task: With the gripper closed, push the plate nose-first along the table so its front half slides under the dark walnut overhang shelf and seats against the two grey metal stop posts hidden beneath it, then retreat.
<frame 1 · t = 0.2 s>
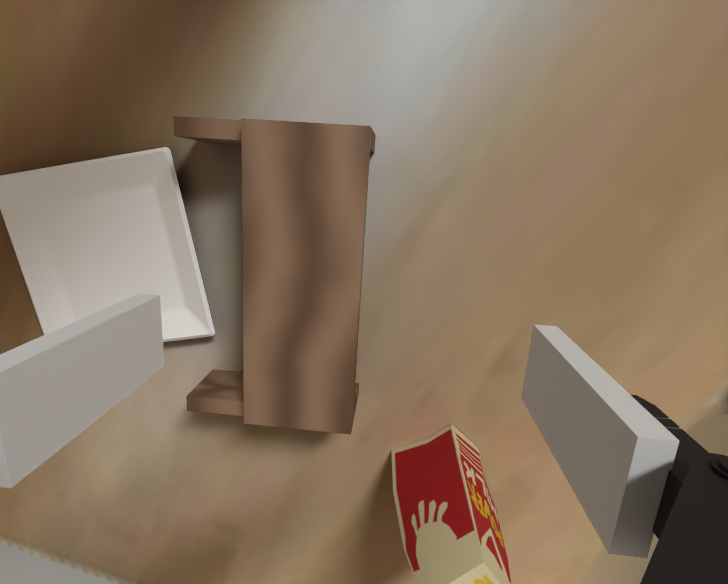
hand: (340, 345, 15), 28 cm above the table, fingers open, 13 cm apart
plate: (118, 255, 45), on the table
milk carton: (443, 466, 48), on the table
overhang shelf: (346, 274, 43), on the table
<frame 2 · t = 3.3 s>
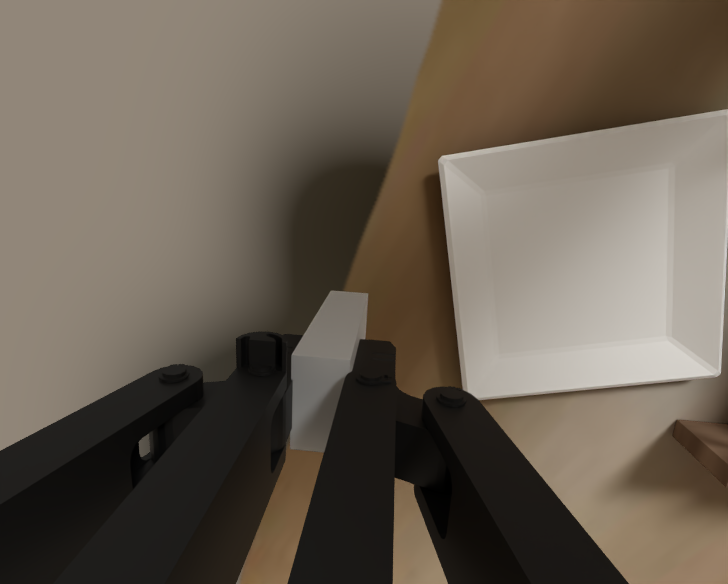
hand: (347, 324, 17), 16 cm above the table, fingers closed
plate: (573, 265, 33), on the table
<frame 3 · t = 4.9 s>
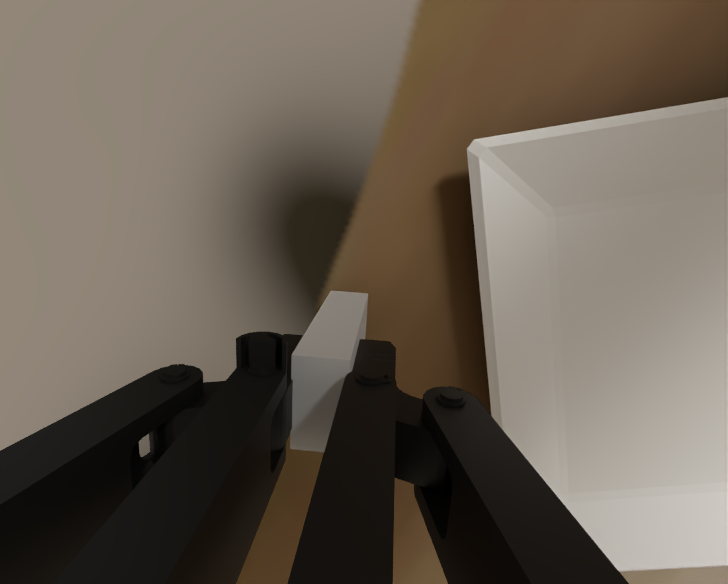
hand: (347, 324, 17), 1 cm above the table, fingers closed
plate: (708, 341, 18), on the table
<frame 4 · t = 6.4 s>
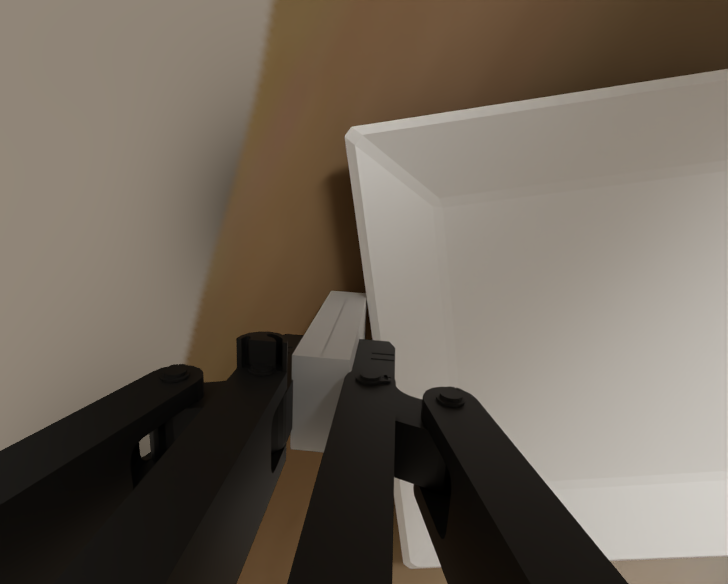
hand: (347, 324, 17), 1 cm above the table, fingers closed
plate: (603, 336, 18), on the table, touching gripper
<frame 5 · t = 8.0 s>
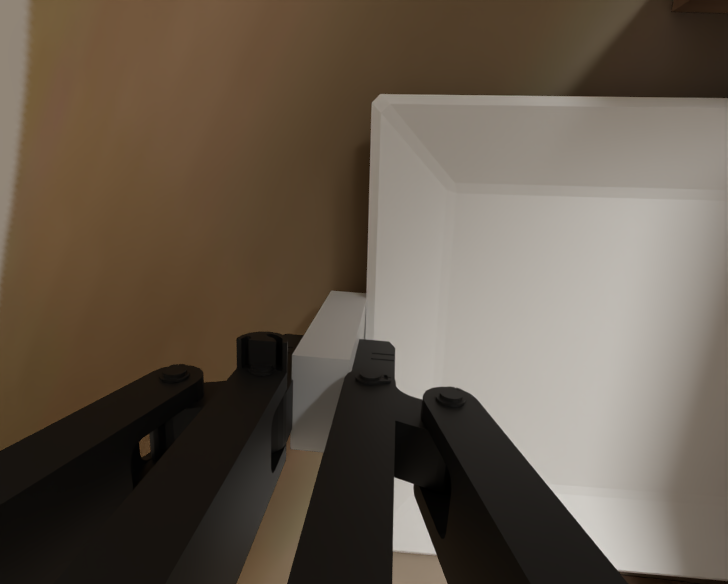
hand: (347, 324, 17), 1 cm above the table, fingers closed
plate: (590, 346, 18), on the table
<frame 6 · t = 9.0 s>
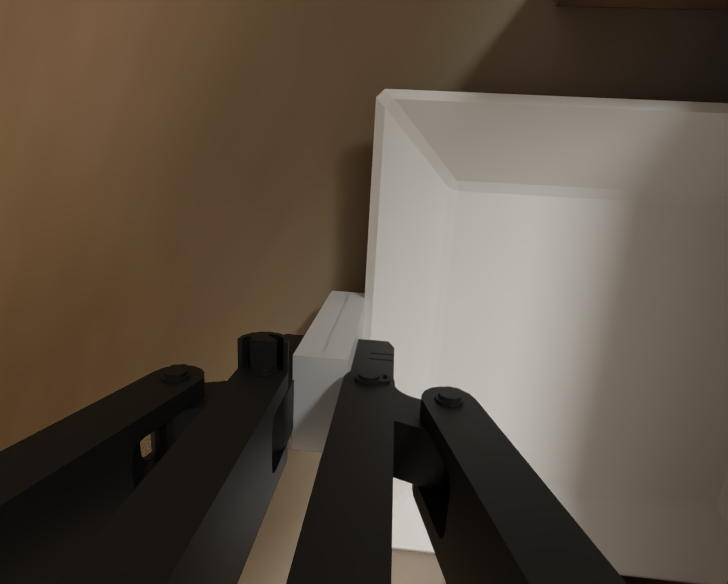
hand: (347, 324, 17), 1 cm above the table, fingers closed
plate: (587, 349, 18), on the table, touching gripper, overhang shelf
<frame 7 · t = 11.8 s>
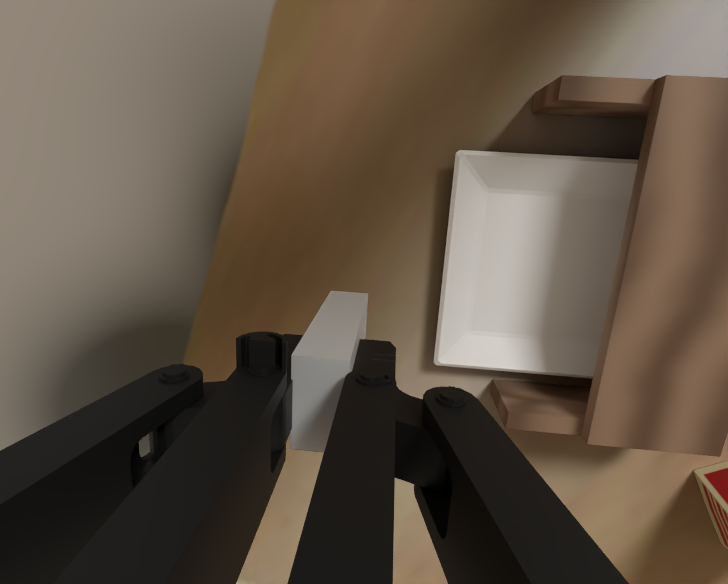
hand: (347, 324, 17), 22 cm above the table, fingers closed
plate: (547, 267, 38), on the table
overhang shelf: (676, 268, 37), on the table
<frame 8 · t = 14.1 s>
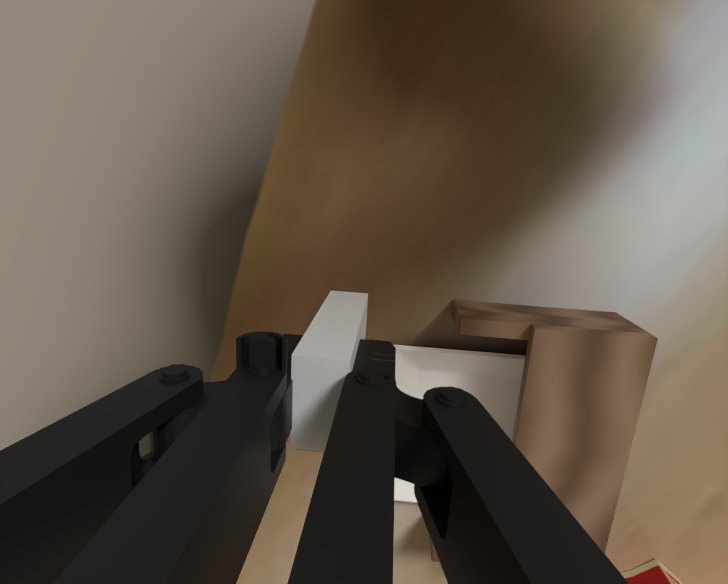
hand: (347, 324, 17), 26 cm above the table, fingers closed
plate: (469, 423, 48), on the table
overhang shelf: (570, 428, 46), on the table
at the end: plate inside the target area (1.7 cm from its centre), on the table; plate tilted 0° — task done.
